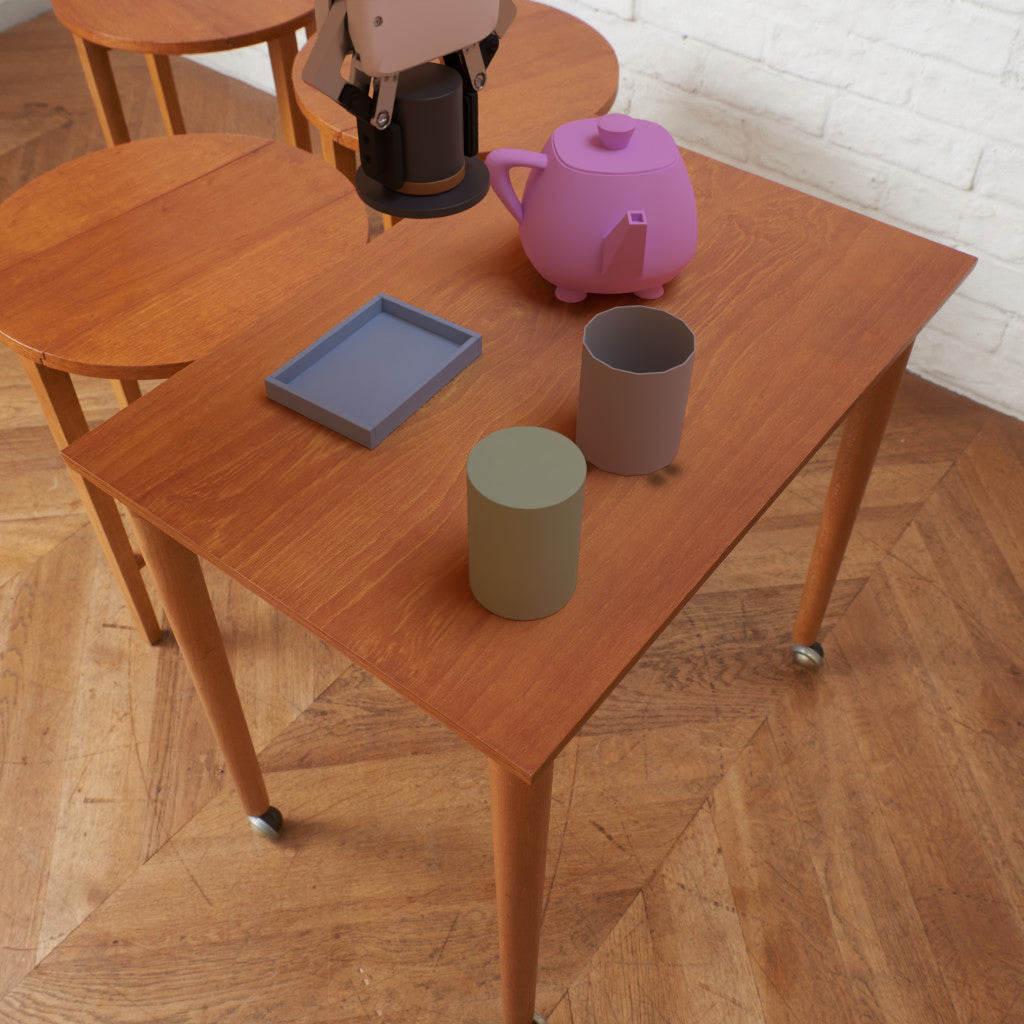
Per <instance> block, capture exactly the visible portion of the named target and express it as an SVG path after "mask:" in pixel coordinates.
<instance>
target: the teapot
mask: <svg viewBox="0 0 1024 1024" xmlns="http://www.w3.org/2000/svg"><path fill="white" fill-rule="evenodd" d="M484 163H485V164H486V166H487V167H488V169H489V172H490V188H491V189H492V190H493V192H494V193H495V195H496V196H497V198H498V199H499V200H500V202H501V204H503V206H504V207H505V209H506V210H507V211H508V212H509V214H510V215H511V216H512V218H514V219H515V221H516V222H517V223H518V235H519V239H520V242H521V246H522V248H523V250H524V253H525V255H526V256H527V258H528V260H529V261H530V263H531V265H532V266H533V267H534V269H535V270H536V271H537V272H538V274H540V276H541V277H542V278H543V279H544V280H545V281H547V282H548V283H550V284H552V285H555V286H556V288H555V291H554V295H555V297H556V299H558V300H559V301H561V302H564V303H568V304H569V303H579V302H582V301H584V300H585V299H586V298H587V296H588V293H589V294H590V293H591V294H603V295H605V294H606V295H607V294H610V295H612V294H613V295H615V294H628V293H633V294H634V295H635V296H636V297H637V298H640V299H644V300H655V299H658V298H660V297H662V296H663V295H664V294H665V289H664V286H663V285H665V284H667V283H669V282H671V281H672V280H674V278H676V277H677V276H678V275H679V274H681V272H683V271H684V270H685V269H686V268H687V267H688V266H689V265H690V263H691V262H692V261H693V258H694V257H695V255H696V252H697V248H698V241H699V240H698V239H699V238H698V237H699V234H698V233H699V220H698V209H697V201H696V196H695V190H694V187H693V184H692V181H691V178H690V175H689V172H688V170H687V167H686V163H685V161H684V159H683V156H682V153H681V151H680V149H679V147H678V145H677V143H676V141H675V139H674V137H673V136H672V134H671V133H670V132H669V131H668V130H667V129H666V128H665V127H664V126H662V125H661V124H659V123H656V122H654V121H650V120H646V119H640V118H634V117H633V116H630V115H627V114H623V113H605V114H603V115H601V116H599V117H590V118H582V119H577V120H572V121H569V122H566V123H563V124H561V125H560V126H558V127H556V129H554V130H553V132H552V133H551V134H550V136H549V137H548V139H547V140H546V142H545V143H544V144H543V146H542V148H541V150H540V152H537V151H532V150H527V149H521V148H511V147H509V148H507V147H506V148H497V149H494V150H492V151H490V152H489V153H488V154H487V155H486V156H485V160H484ZM512 168H529V169H530V171H529V173H528V175H527V178H526V181H525V185H524V189H523V193H522V197H521V201H520V199H519V198H518V196H517V194H516V192H515V189H514V187H513V185H512V182H511V178H510V170H512Z"/></svg>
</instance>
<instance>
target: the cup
mask: <svg viewBox="0 0 1024 1024" xmlns="http://www.w3.org/2000/svg"><path fill="white" fill-rule="evenodd" d="M696 339H697V338H696V334H695V332H694V331H693V330H692V328H691V327H690V326H689V325H688V324H687V322H686V321H685V320H684V319H682V318H680V317H678V316H676V315H674V314H672V313H670V312H668V311H667V310H665V309H660V308H655V307H651V306H646V305H642V304H640V305H625V306H624V305H623V306H615V307H612V308H609V309H607V310H604V311H601V312H599V313H597V314H595V315H594V316H593V317H592V318H591V319H590V320H589V321H588V322H587V324H586V325H585V326H583V337H582V347H581V363H580V373H579V374H580V375H579V389H578V403H577V413H576V427H575V440H574V441H575V442H574V444H575V445H576V446H577V447H578V448H579V449H580V451H581V452H582V454H583V456H584V458H585V461H586V462H588V463H590V464H592V465H593V466H594V467H596V468H598V469H599V470H601V471H604V472H607V473H611V474H615V475H619V476H624V477H628V476H629V477H630V476H641V475H642V476H644V475H651V474H652V473H655V472H657V471H660V470H661V469H663V468H666V467H667V466H669V465H670V464H671V462H672V461H673V460H674V458H675V457H676V456H677V455H678V453H679V451H680V444H681V439H682V433H683V428H684V423H685V417H686V411H687V405H688V400H689V399H688V398H689V393H690V387H691V381H692V375H693V369H694V364H695V359H696V353H697V340H696Z"/></svg>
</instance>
